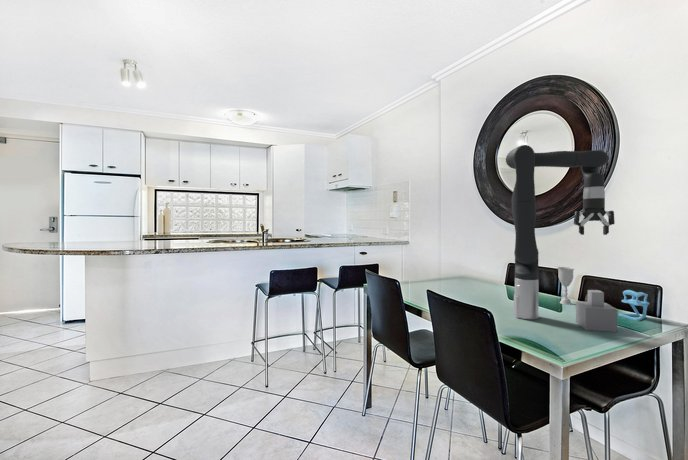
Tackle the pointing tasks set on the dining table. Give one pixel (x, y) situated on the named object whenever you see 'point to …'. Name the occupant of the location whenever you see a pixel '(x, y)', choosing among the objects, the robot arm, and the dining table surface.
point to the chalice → (565, 281)
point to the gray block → (596, 313)
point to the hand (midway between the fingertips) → (593, 234)
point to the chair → (635, 302)
